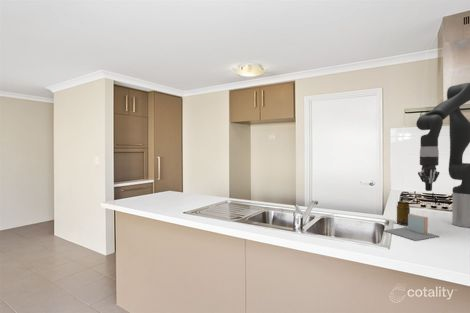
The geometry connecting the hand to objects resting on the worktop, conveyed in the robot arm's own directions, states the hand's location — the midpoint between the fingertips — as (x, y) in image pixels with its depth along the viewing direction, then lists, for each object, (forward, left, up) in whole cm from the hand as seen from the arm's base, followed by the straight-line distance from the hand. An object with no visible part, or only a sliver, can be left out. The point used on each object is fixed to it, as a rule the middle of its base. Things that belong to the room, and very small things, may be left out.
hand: (428, 190), depth 132 cm
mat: (+13, 0, -20) cm, 24 cm away
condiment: (-2, -14, -20) cm, 25 cm away
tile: (+8, 0, -20) cm, 21 cm away
